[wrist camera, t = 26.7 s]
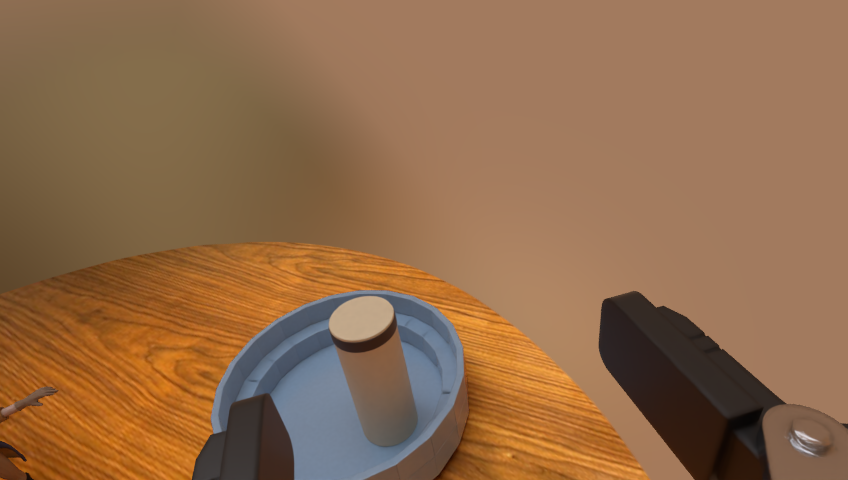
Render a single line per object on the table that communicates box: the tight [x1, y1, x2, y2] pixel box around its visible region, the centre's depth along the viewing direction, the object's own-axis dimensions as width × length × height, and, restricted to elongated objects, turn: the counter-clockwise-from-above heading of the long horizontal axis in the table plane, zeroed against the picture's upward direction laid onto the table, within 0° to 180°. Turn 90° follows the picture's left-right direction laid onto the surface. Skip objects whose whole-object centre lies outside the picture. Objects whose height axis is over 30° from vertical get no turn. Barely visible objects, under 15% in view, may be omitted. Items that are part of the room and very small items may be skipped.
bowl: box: [211, 290, 469, 480], centre depth 41 cm, size 21×21×6 cm
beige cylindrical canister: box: [329, 296, 418, 446], centre depth 37 cm, size 5×5×12 cm
